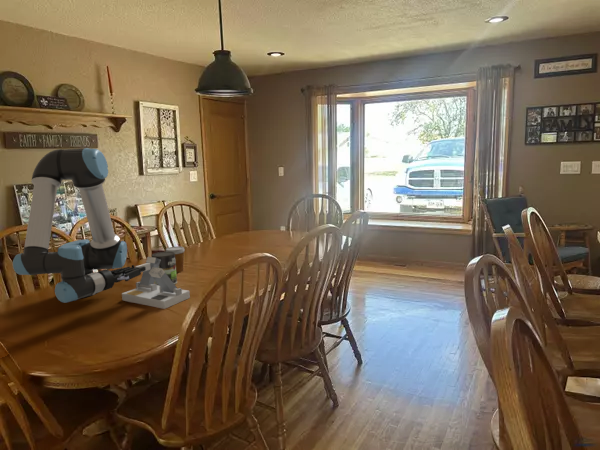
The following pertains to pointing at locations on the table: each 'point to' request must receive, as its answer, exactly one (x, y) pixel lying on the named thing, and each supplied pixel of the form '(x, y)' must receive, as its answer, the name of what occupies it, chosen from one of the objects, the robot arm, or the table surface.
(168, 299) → the switch unit
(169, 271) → the coffee can
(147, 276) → the paddle over amber tile
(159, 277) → the paddle over charcoal tile
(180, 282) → the table surface
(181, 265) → the disposable coffee cup
